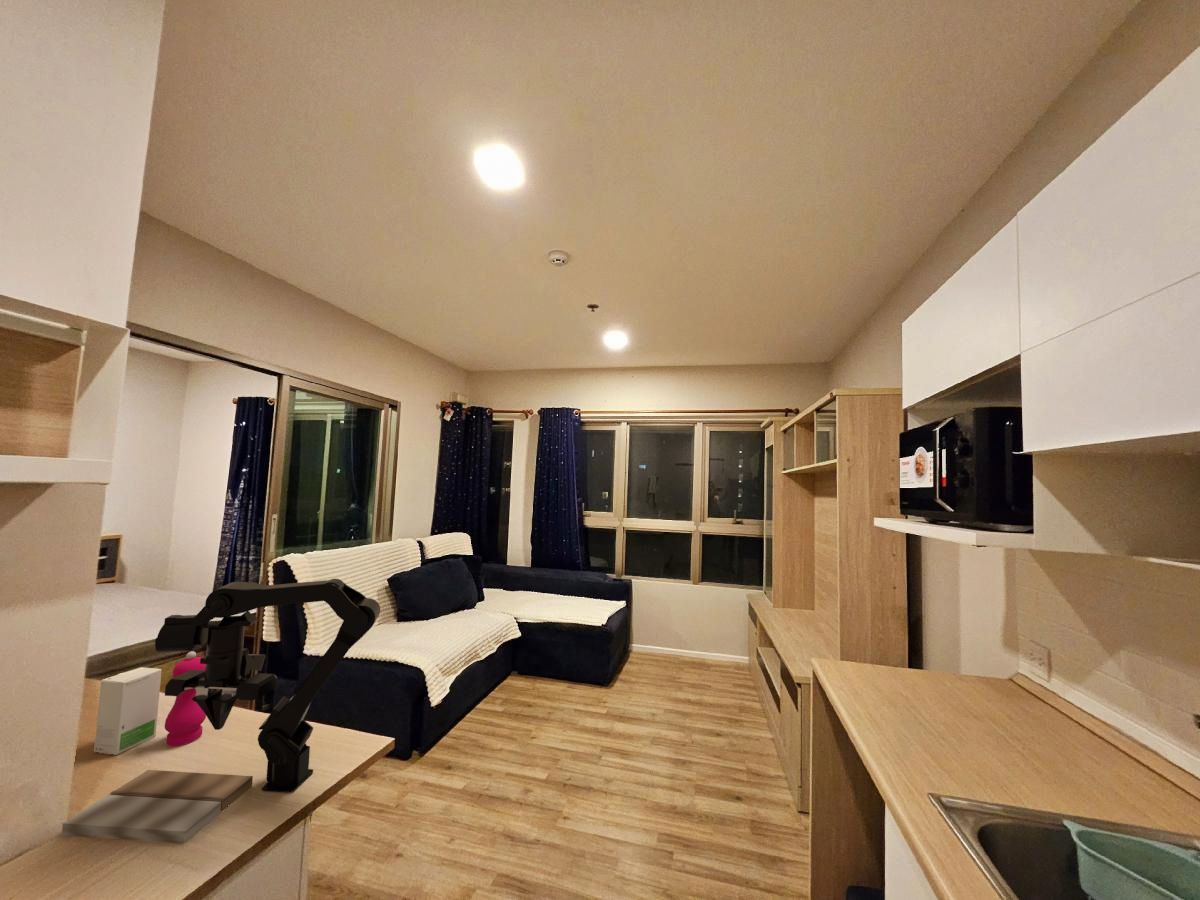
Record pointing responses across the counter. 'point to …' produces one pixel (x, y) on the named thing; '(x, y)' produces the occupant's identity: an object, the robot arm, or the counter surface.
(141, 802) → the grey plank
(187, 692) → the pepper mill
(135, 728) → the skincare box
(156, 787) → the walnut plank
